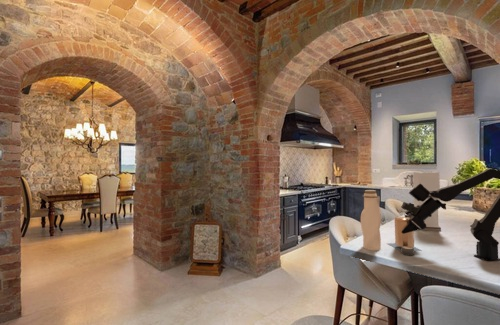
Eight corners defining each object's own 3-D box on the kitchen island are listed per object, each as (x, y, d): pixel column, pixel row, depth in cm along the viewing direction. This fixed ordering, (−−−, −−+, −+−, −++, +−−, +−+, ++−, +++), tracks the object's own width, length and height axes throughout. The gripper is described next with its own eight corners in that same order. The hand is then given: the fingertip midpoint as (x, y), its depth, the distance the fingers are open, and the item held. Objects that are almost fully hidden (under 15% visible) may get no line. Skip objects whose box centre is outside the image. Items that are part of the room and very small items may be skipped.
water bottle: (365, 243, 132) (363, 189, 133) (384, 246, 127) (383, 189, 127) (359, 248, 125) (357, 190, 125) (379, 252, 119) (377, 191, 119)
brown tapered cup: (417, 247, 120) (416, 219, 120) (402, 247, 119) (401, 220, 120) (407, 242, 127) (406, 216, 128) (392, 243, 127) (391, 217, 127)
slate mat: (422, 251, 119) (422, 250, 119) (401, 252, 119) (401, 251, 119) (405, 243, 131) (405, 242, 131) (386, 244, 131) (386, 243, 131)
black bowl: (416, 256, 113) (416, 249, 113) (406, 256, 113) (405, 249, 113) (409, 252, 118) (409, 245, 118) (399, 253, 118) (398, 246, 118)
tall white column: (440, 231, 154) (439, 172, 154) (420, 229, 157) (418, 172, 157) (433, 226, 164) (432, 171, 165) (414, 225, 168) (413, 171, 168)
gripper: (408, 194, 131) (385, 214, 135) (416, 198, 114) (389, 222, 118) (427, 210, 128) (403, 231, 132) (438, 217, 111) (409, 241, 115)
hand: (400, 230), depth 124 cm, fingers closed on brown tapered cup, 8 cm apart
